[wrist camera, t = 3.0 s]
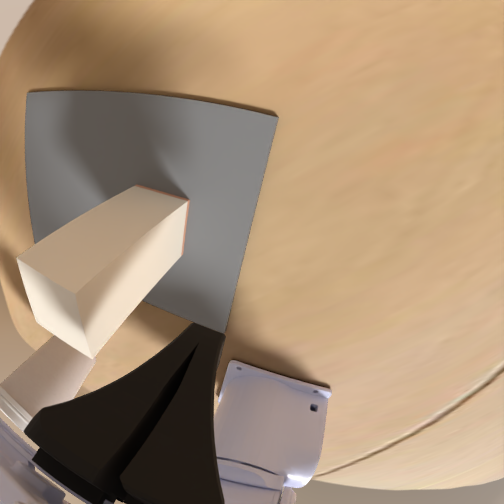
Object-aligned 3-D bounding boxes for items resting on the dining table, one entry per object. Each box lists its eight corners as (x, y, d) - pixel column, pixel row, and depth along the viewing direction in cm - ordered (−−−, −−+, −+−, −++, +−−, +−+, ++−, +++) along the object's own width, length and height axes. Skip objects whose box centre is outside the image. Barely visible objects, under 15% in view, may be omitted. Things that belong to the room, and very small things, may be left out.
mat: (278, 117, 14) (277, 117, 14) (225, 330, 22) (224, 333, 22) (30, 92, 16) (27, 92, 16) (38, 245, 25) (35, 246, 24)
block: (189, 199, 17) (75, 294, 9) (183, 253, 19) (92, 359, 11) (136, 184, 18) (16, 257, 9) (134, 236, 20) (36, 321, 11)
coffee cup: (115, 379, 33) (60, 461, 20) (70, 360, 36) (17, 427, 23) (88, 328, 29) (12, 419, 16) (43, 311, 31) (-24, 382, 18)
